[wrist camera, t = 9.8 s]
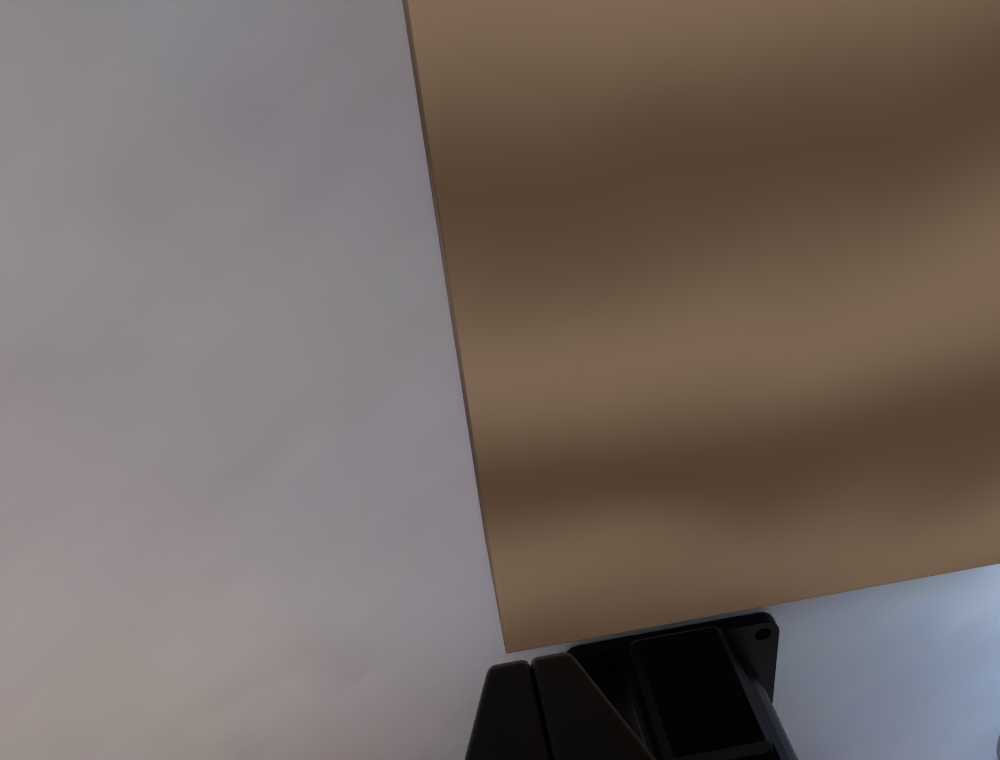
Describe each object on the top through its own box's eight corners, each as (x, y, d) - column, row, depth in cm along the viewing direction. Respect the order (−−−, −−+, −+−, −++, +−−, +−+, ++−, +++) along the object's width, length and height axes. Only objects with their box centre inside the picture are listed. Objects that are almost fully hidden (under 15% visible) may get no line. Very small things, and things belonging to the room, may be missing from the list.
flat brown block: (984, 448, 25) (1082, 548, 21) (484, 536, 24) (506, 653, 21) (1276, -769, 13) (1602, -972, 9) (298, -679, 12) (276, -866, 9)
